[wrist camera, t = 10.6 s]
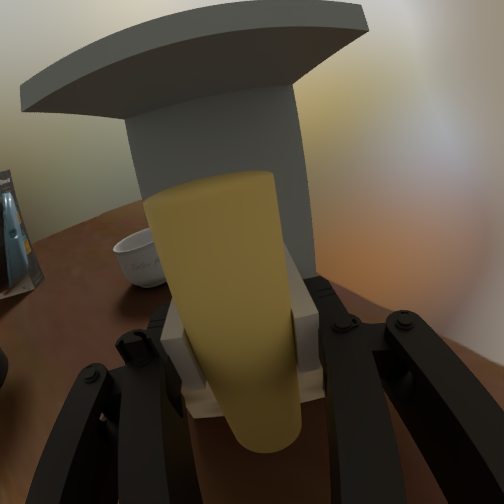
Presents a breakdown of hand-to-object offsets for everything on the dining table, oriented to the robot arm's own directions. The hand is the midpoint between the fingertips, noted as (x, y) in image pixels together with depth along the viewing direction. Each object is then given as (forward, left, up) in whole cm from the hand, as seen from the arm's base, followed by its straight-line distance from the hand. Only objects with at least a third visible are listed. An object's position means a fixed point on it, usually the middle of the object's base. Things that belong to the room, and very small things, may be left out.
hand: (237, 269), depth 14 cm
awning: (0, +6, -13) cm, 14 cm away
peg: (0, -6, -7) cm, 9 cm away
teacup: (-14, +29, -13) cm, 35 cm away
